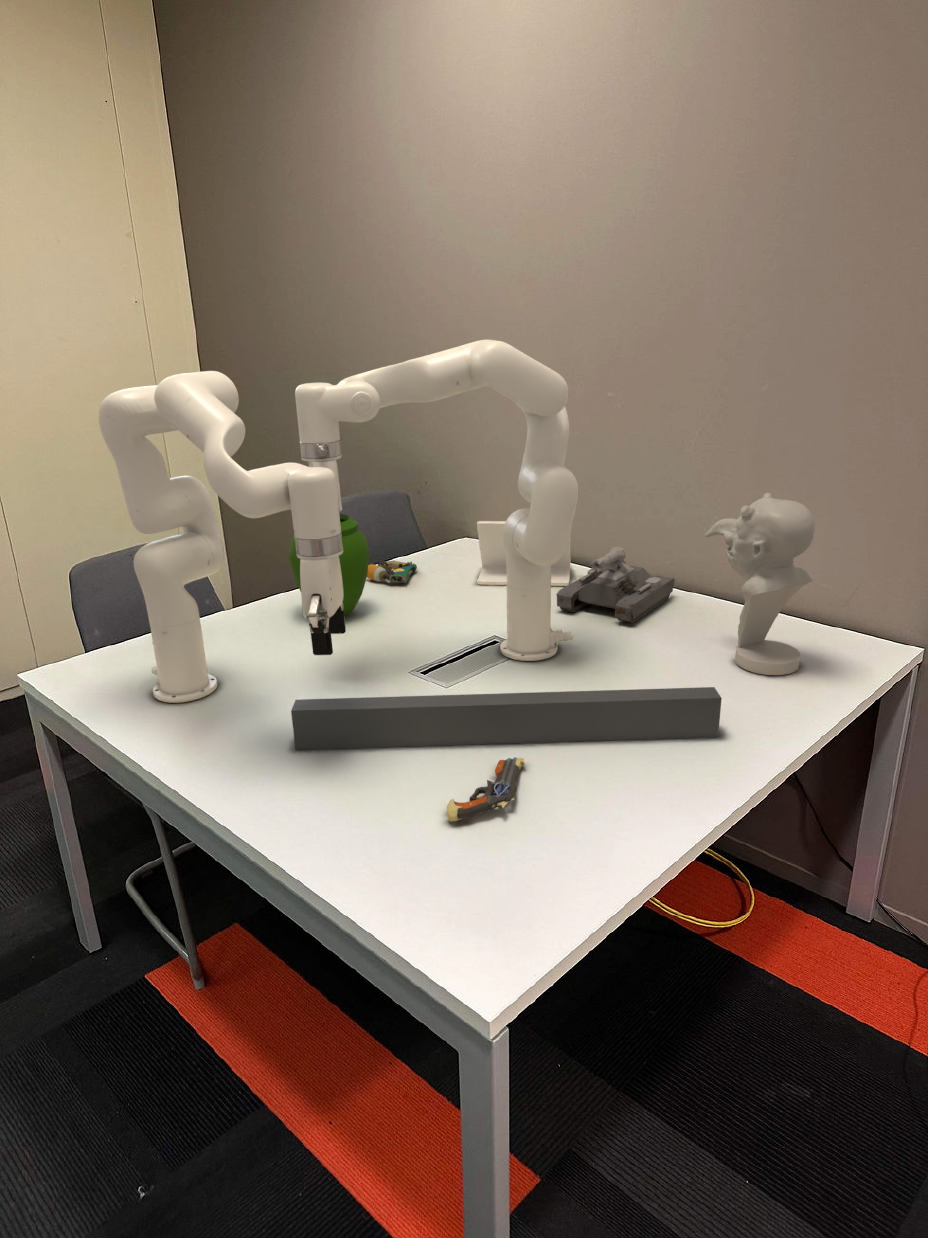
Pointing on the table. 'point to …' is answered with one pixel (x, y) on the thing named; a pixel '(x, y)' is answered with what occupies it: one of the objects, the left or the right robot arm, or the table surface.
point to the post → (506, 718)
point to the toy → (616, 588)
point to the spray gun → (391, 571)
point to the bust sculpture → (766, 576)
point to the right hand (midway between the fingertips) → (329, 538)
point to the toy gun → (490, 792)
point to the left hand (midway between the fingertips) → (330, 643)
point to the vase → (345, 563)
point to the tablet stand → (496, 560)
